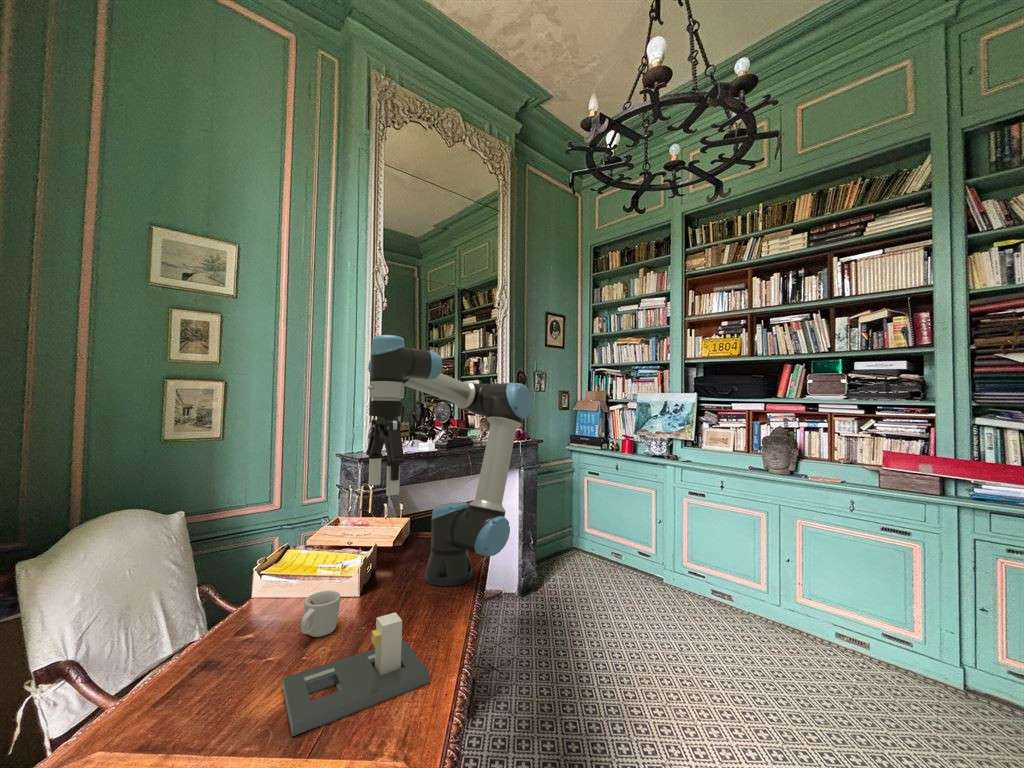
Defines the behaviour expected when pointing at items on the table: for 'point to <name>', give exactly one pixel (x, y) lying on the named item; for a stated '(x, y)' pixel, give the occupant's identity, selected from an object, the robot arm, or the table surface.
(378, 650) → the plug
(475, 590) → the table surface
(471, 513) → the robot arm
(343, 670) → the panel
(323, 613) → the cup
